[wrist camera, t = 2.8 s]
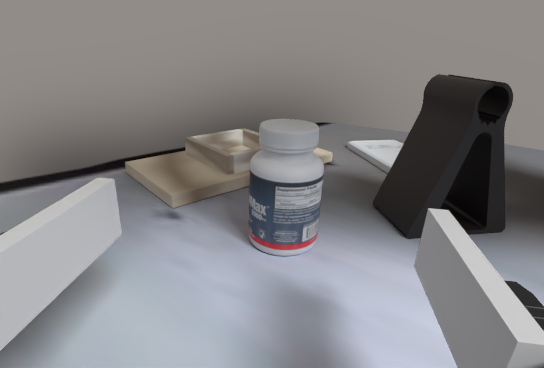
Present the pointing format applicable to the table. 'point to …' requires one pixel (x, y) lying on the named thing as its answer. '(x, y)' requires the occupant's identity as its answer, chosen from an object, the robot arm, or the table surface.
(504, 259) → the table surface
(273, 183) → the pill bottle
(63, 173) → the table surface
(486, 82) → the phone stand
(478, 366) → the robot arm
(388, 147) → the external hard drive
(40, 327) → the table surface
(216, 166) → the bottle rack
